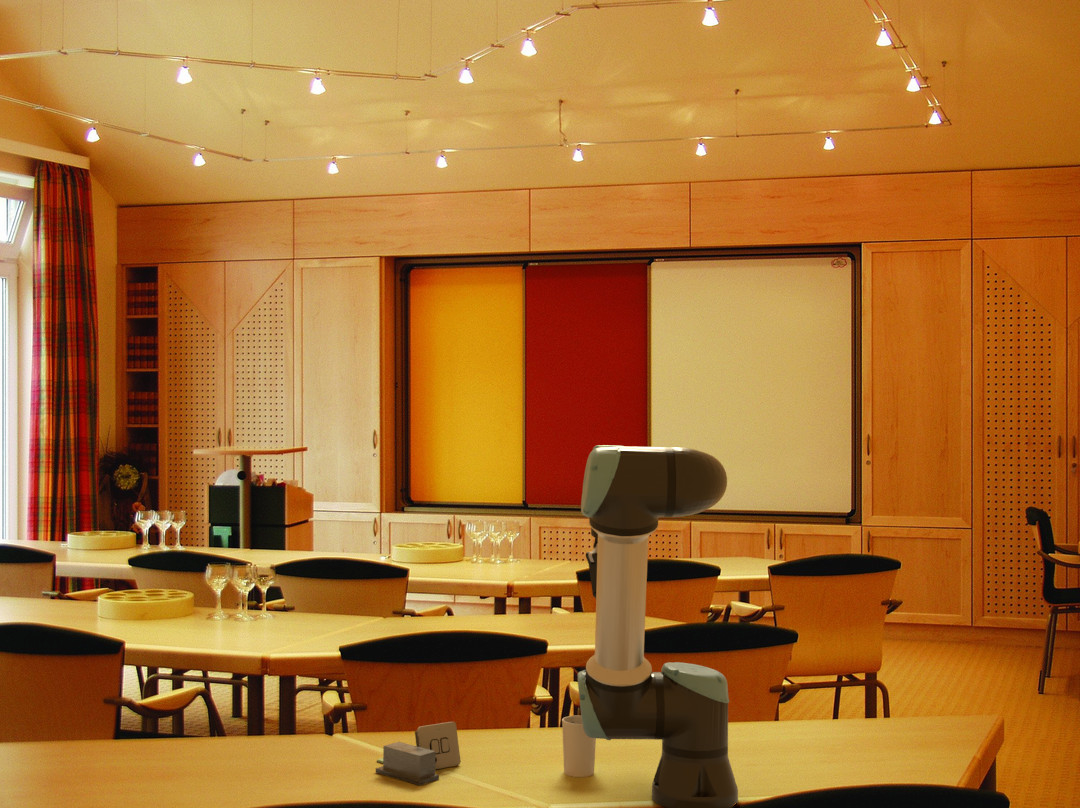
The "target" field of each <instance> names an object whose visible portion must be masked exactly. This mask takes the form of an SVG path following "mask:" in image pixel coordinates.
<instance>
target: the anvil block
mask: <svg viewBox="0 0 1080 808" xmlns="http://www.w3.org/2000/svg"><path fill="white" fill-rule="evenodd" d="M382 752H383V757H382V758H383V763H382V764H383V765H382V766H379V767H376V768H375V773H376V774H379V775H382V776H385V777H388V778H389V777H390V778H393V779H396V780H399V781H403V782H406V783H409V784H413V785H416V786H422V785H426V784H429V783H432V782H435V781H438V780H440V774H436V769H435V751H432V750H429V749H425V748H421V747H417V746H416V745H413V744H409V743H407V742H401V741H396V742H393V743H389V744H385V745H383V751H382Z"/></svg>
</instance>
